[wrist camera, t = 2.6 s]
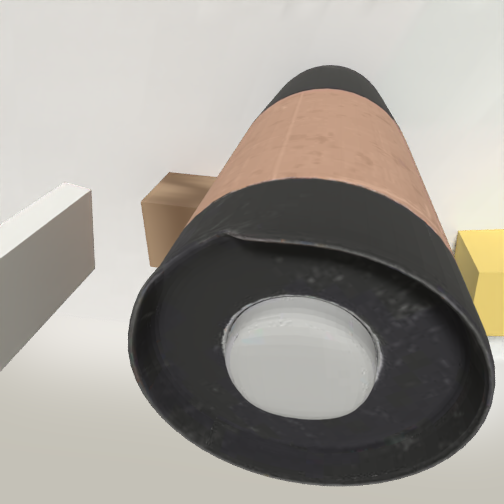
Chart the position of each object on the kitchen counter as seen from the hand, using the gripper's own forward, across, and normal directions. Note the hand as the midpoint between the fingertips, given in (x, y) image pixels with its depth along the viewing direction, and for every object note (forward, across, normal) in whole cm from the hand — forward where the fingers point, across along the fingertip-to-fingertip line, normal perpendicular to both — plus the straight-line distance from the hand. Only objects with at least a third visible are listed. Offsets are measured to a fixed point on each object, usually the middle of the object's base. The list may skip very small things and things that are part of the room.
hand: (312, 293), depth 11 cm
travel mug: (+17, 0, 0) cm, 17 cm away
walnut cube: (+17, -7, -8) cm, 20 cm away
